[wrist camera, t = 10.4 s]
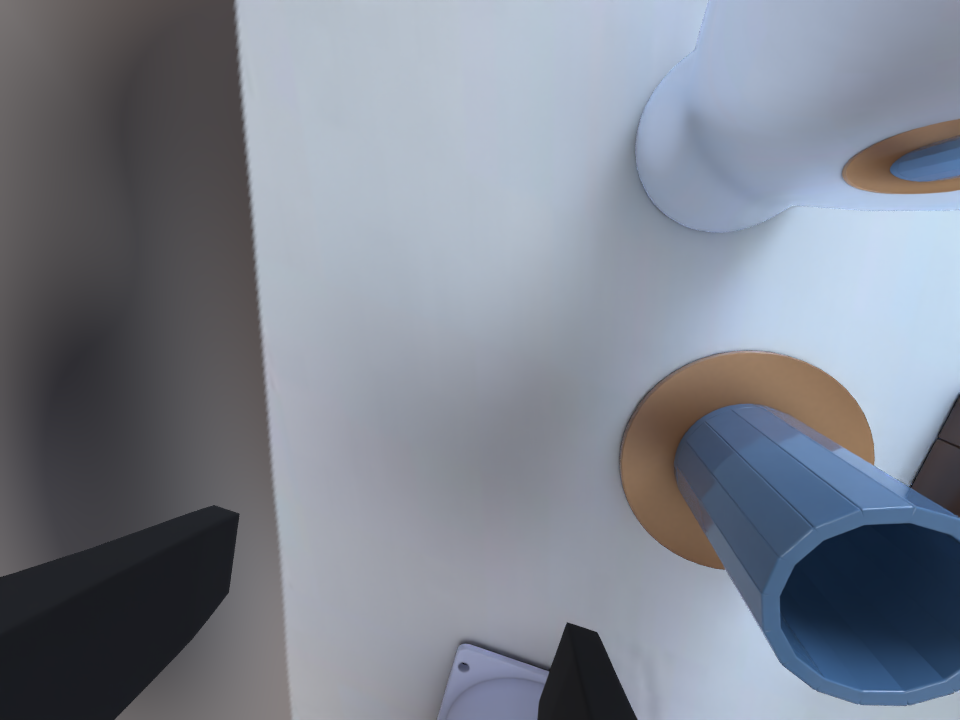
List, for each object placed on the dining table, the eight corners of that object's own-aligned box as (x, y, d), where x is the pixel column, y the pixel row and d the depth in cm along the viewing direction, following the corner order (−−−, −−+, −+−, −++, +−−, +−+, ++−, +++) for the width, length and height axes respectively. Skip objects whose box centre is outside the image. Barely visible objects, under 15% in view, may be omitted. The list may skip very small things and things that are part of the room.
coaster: (808, 593, 18) (814, 600, 18) (591, 526, 19) (592, 531, 18) (911, 388, 16) (921, 391, 16) (662, 322, 17) (664, 324, 16)
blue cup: (782, 541, 17) (950, 736, 10) (655, 502, 18) (728, 662, 11) (837, 424, 16) (1071, 551, 9) (699, 387, 17) (816, 478, 9)
